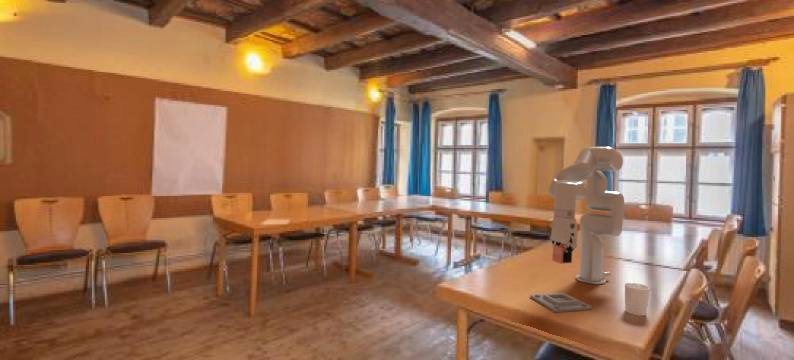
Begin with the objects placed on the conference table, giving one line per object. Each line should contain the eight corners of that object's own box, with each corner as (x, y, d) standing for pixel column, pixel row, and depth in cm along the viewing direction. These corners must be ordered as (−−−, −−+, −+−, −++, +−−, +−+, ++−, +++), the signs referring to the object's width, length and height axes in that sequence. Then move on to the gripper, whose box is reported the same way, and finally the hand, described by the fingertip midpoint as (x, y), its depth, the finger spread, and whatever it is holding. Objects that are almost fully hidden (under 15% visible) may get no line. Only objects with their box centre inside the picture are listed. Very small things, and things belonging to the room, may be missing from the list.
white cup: (618, 308, 150) (620, 282, 150) (638, 308, 151) (639, 282, 150) (632, 316, 142) (634, 289, 142) (653, 316, 143) (654, 289, 143)
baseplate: (564, 294, 164) (564, 289, 164) (592, 309, 149) (592, 303, 149) (530, 297, 160) (530, 292, 160) (555, 312, 145) (555, 306, 145)
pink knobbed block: (563, 259, 157) (564, 242, 156) (571, 263, 152) (572, 245, 152) (552, 260, 155) (553, 243, 155) (560, 263, 151) (561, 246, 150)
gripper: (588, 217, 145) (586, 265, 146) (558, 210, 162) (556, 254, 163) (570, 217, 143) (568, 266, 144) (542, 211, 160) (540, 255, 161)
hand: (562, 259), depth 154 cm, fingers closed on pink knobbed block, 5 cm apart
